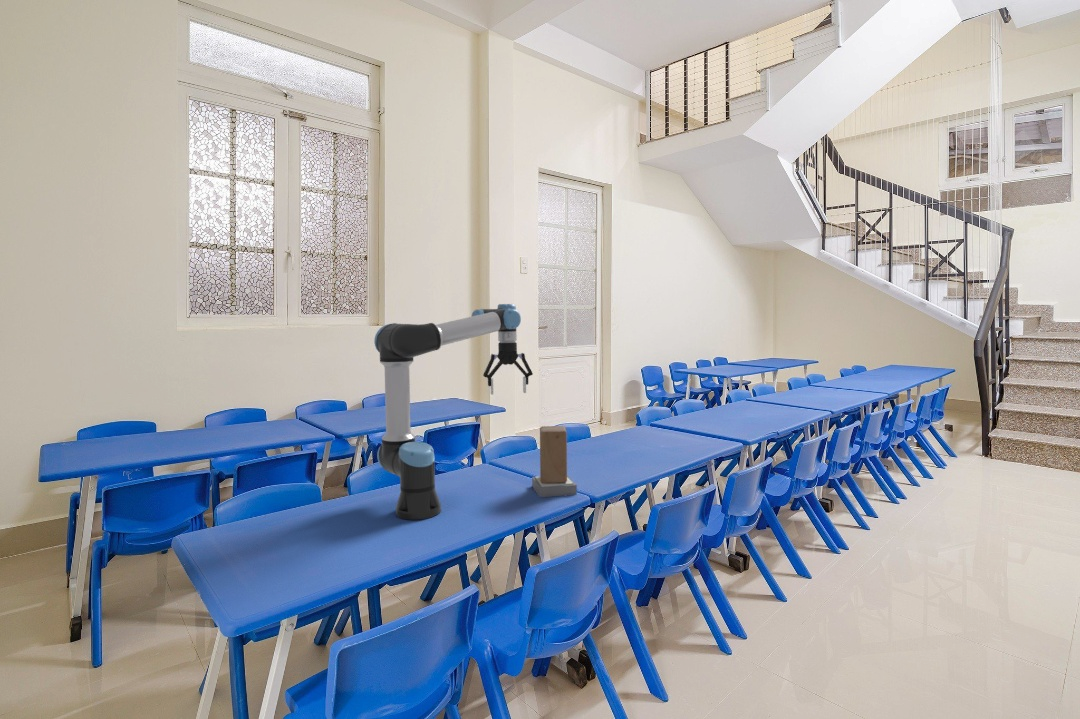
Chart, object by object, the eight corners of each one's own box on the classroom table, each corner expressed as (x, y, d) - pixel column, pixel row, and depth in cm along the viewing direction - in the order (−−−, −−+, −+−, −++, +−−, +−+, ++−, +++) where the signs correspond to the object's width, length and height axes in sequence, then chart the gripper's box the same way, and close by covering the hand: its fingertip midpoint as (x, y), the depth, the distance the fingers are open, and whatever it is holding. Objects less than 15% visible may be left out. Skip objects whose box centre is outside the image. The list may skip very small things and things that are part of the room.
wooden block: (567, 483, 214) (566, 431, 213) (540, 484, 214) (539, 431, 213) (565, 475, 224) (565, 425, 223) (540, 476, 224) (539, 425, 223)
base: (540, 497, 211) (540, 486, 211) (532, 486, 225) (532, 476, 225) (576, 494, 214) (576, 483, 214) (566, 483, 228) (566, 473, 228)
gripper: (478, 343, 228) (479, 396, 230) (539, 341, 233) (540, 393, 235) (475, 342, 235) (477, 393, 237) (535, 340, 241) (535, 390, 242)
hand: (508, 393), depth 236 cm, fingers open, 13 cm apart
